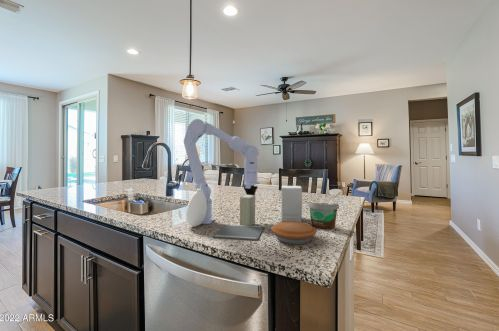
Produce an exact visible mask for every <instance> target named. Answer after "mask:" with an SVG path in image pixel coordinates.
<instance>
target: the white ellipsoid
mask: <svg viewBox="0 0 499 331" xmlns="http://www.w3.org/2000/svg"><path fill="white" fill-rule="evenodd" d="M206 210H207V203H206V197H205V195H204V193H203V189H201V185H200V189H197V191H196V190H195V192H194V193H192V196H191V197H190V199H189V201H188V203H187V206H186V212H185V217H186V220H187V223H188V224H189V225H190V226H191V227H193V228H195V227H198V226H199V225H201V223H202V221H203V220H204V218H205V215H206Z"/></svg>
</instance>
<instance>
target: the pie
mask: <svg viewBox="0 0 499 331" xmlns="http://www.w3.org/2000/svg"><path fill="white" fill-rule="evenodd" d="M271 231H272V232H273V234H274V235H275V236H276V238H277V239H278V241H279V242H281V243H283V244H288V245H304V244H307V243H310V241H311V240H312V239H313V237H314V236H315V235H316V234H317V233H318V230H317V228H314V227H312V226H311V224H309V223H307V222H295V221H280V222H278V223H276V224H274V225H272V227H271Z"/></svg>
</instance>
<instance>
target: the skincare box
mask: <svg viewBox="0 0 499 331" xmlns="http://www.w3.org/2000/svg"><path fill="white" fill-rule="evenodd" d="M254 224H256V194H255V195H247V194H244V195H242V196H240V197H239V225H243V226H254Z"/></svg>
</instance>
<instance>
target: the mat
mask: <svg viewBox="0 0 499 331" xmlns="http://www.w3.org/2000/svg"><path fill="white" fill-rule="evenodd" d="M263 230H264V226H257V225H251V226H243V225H240V224H224V225H223V226H222V227H221V228H220V229H218V230H217V232H216V233H214V234H213V235H212V239H213V238H214V239H226V240H227V239H228V240H241V241H242V240H244V241H257V242H258V241H259V239H260V236H261V234H262V231H263Z"/></svg>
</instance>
